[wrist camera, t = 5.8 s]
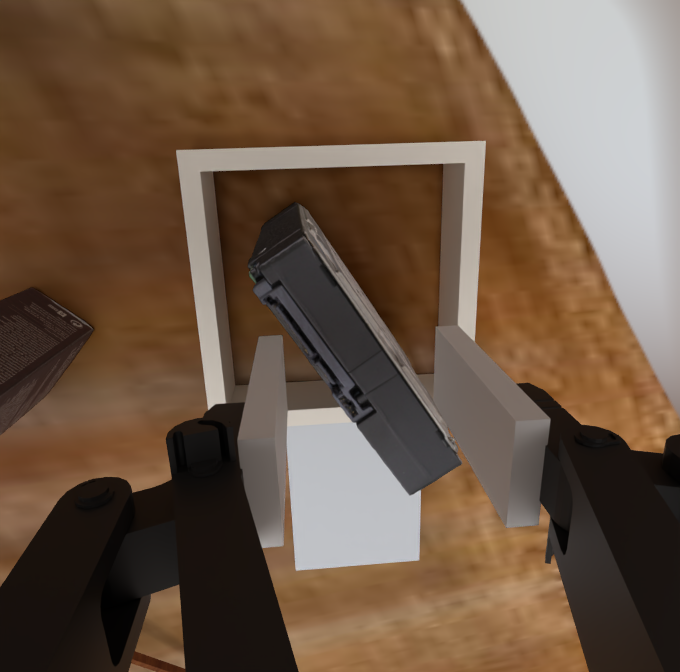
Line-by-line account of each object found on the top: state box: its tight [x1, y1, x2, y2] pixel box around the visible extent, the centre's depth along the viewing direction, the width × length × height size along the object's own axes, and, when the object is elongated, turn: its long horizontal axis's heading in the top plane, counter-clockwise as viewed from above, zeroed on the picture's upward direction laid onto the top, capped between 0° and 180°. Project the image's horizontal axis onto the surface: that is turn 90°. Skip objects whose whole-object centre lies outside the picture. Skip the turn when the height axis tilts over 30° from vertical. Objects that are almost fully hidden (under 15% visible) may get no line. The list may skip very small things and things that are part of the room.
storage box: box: [176, 141, 486, 426], centre depth 29 cm, size 15×15×4 cm
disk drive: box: [248, 202, 462, 496], centre depth 24 cm, size 10×3×15 cm, turn 34°
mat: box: [287, 422, 421, 570], centre depth 36 cm, size 12×9×1 cm
